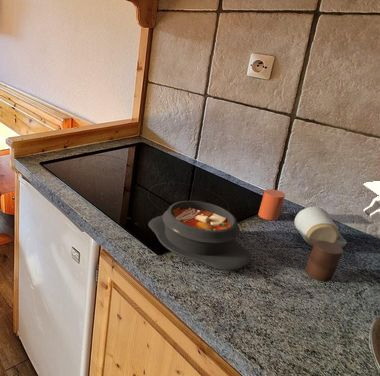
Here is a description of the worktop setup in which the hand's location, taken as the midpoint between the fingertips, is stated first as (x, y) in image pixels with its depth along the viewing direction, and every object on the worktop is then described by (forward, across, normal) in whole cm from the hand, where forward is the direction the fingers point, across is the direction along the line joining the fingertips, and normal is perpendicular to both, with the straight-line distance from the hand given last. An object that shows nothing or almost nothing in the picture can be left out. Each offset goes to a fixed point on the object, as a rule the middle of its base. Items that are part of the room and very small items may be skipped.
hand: (368, 215), depth 96 cm
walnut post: (+17, +15, -7) cm, 23 cm away
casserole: (+34, +6, -24) cm, 41 cm away
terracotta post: (+17, -11, -6) cm, 21 cm away
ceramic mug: (+12, +1, -1) cm, 12 cm away
